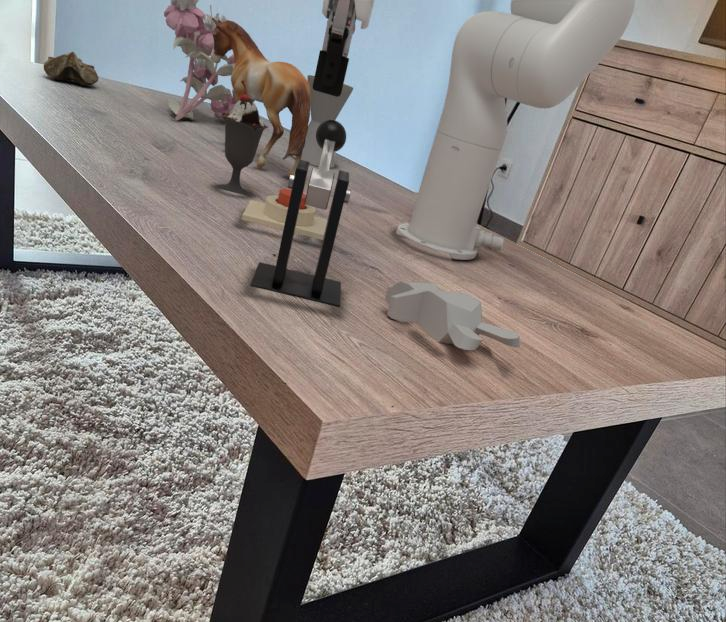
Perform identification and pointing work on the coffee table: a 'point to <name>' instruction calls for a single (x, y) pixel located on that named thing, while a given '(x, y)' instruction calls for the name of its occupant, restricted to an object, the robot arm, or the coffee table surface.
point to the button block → (276, 217)
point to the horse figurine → (266, 86)
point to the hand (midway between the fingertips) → (326, 92)
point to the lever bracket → (279, 275)
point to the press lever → (325, 163)
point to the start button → (285, 198)
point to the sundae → (241, 139)
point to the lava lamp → (321, 118)
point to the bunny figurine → (444, 315)
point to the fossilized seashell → (70, 69)
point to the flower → (199, 58)
